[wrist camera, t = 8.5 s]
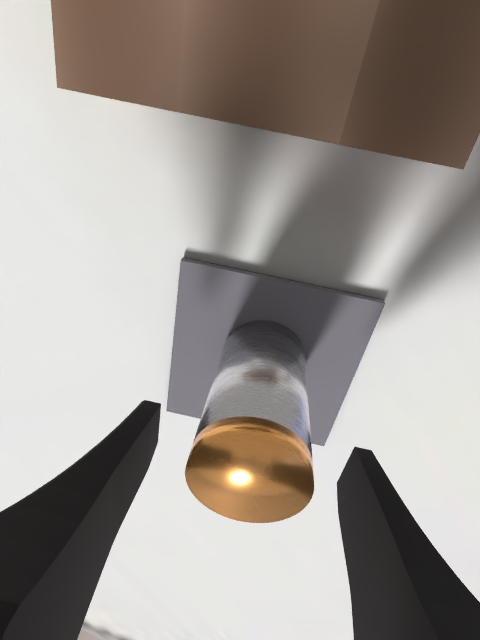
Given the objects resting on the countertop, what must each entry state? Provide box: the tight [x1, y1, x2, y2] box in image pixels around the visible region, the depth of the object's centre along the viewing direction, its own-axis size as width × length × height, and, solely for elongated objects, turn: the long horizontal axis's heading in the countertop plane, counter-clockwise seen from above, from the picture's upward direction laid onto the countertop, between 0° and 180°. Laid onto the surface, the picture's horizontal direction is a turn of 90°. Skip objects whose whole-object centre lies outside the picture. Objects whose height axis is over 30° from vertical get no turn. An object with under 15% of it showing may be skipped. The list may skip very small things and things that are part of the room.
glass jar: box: [185, 320, 314, 523], centre depth 14 cm, size 4×4×7 cm
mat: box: [167, 258, 385, 446], centre depth 17 cm, size 9×9×1 cm
